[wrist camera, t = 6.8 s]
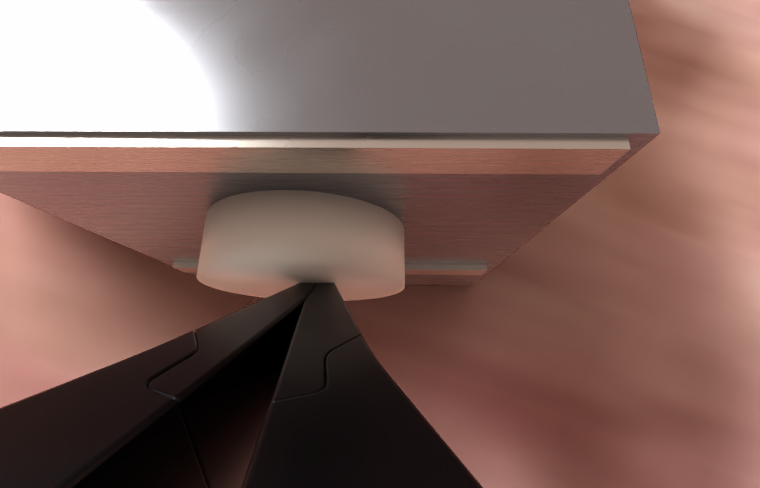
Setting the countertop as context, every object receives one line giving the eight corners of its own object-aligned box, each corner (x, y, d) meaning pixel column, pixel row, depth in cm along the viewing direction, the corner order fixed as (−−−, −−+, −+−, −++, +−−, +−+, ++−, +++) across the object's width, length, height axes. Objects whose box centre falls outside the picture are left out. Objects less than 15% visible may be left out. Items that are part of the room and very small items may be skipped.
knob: (400, 301, 12) (412, 263, 7) (243, 300, 12) (147, 261, 7) (399, -19, 16) (405, -185, 11) (281, -19, 16) (236, -183, 11)
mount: (473, 289, 17) (662, 145, 5) (210, 287, 17) (-151, 142, 6) (459, 69, 20) (556, -302, 9) (242, 68, 21) (62, -296, 9)
